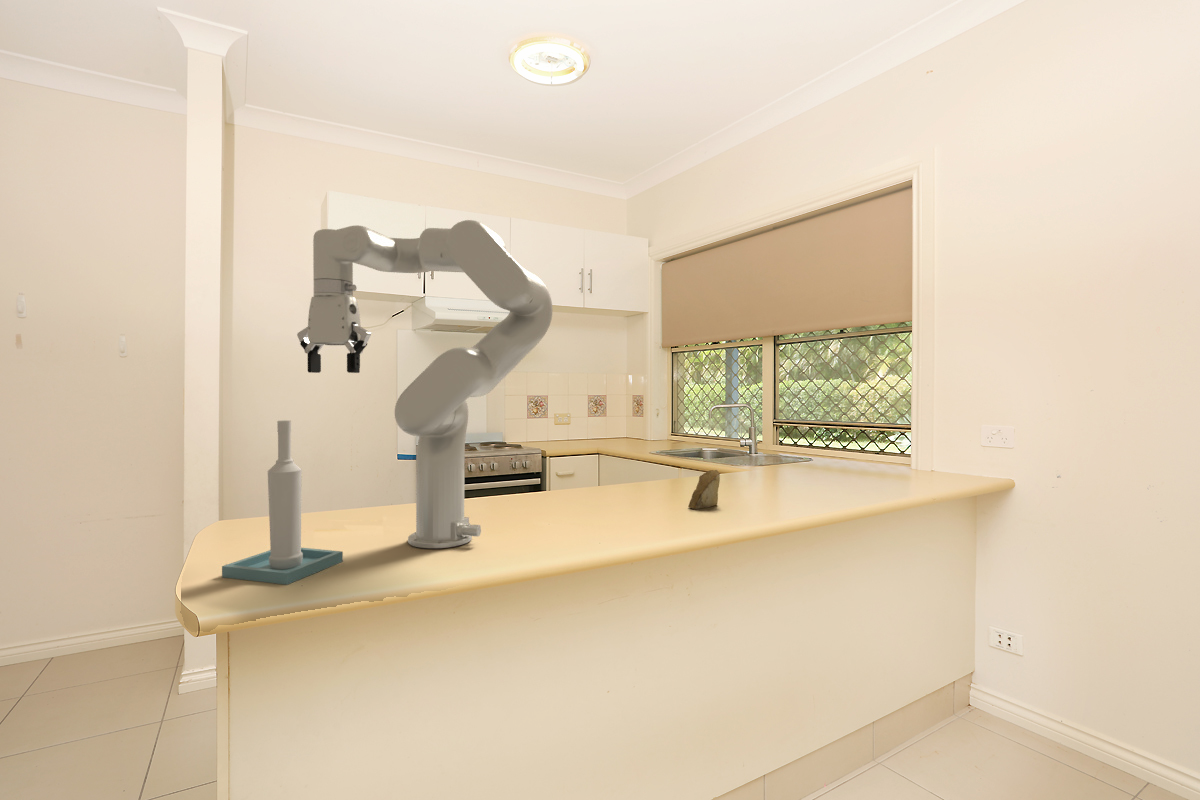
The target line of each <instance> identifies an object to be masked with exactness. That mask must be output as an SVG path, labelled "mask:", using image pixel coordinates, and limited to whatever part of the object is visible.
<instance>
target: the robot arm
mask: <svg viewBox="0 0 1200 800" xmlns="http://www.w3.org/2000/svg"><path fill="white" fill-rule="evenodd" d="M312 243H313V244H312V246H313V247H312V248H313V250H312V251H313V255H312V257H313V259H312V260H313V263H312V265H313V267H312V268H313V276H312V277H313V280H312V281H313V296H311V298H310V302H309V303H310V304H309V309H308V317H307V319H308V320H307V327H304V328H303V329H302V330H300V331H299V332H297V334H296V335H297V336H296V337H297V338H298V341H299V342H300V343H299V345H300V346H301V347H302V348H303V350H304V353H305V354H307V372H308V373H310V374H311V373H315V374H316V373H319V374H320V373H321V372H322V362H321V361H322V357H321V356H322V354H321V353H319V352H320V351H321V350H322V348H323V347H324V345H325V346H345V347H346V349H347V350H348V352H347V354H346V372H347V373H349V374H355V373H356V374H359V373H360V367H361V355H362V354H363V352H364V350H365V348H366V347H367V346H368V342H369V339H370V338H371V333H372V332H370V331H369V330H367V329H365V328H363V327H362V326H361V317H360V315H361V314H360V311H359V310H360V309H359V304H358V301H357V298H356V297H353V296H354V294H353V293H354V292H355V291H357V288H358V287H357V285H356V284H354V283H353V282H354V280H353V279H354V278H353V276H354V273H353V272H354V270H353V268H354V265H353V264H356V265H360V266H364V267H367V268H370V269H373V270H376V271H378V272H379V271H380V272H383V273H384V272H385V273H397V274H398V273H399V274H400V273H401V274H403V273H404V274H419V273H420V274H421V273H429V272H443V273H444V272H447V273H450V272H451V273H465V275H466V276H467V277H468V278H469V279H470V280H471V282H473V283H474V285H476V287H477V288H478V289H479V290H480V291H481V292H482V293H483V294H484V296H486V298H488V300H489V301H490V302H492V303H493V304H494V305H495V306H497V307H499V308H500V309H502V310H506V311H509V313H508V314H507V316H506V317H505V318H504V319H503V320H501V321H500V322H498V323H497V324H496V325H494V326H493V327H492V328H491V329H490V330H489V331H488V332H487V333H486V334H485V335H484V336H483V337H482V338H481V339H480V340H479V341H478V342H477V343H476V344H475V345H473V346H471V347H465V346H462V347H461V346H460V347H454V348H450V349H447V350H446V351H445V352H443V353H441V354H439V356H437V357H436V358H435V359H434V360H433V361H432V362H431V363H430V364H429V365H428V366H427V367H426V368H425V369H424V370H423V371H422V372H421V373H420V374H419V375H418V376H417V377H416V378H415V379H414V380H413V381H412V382H411V383H410V384H409V385H408V386H407V387H406V388H404V390H403V391H402V393H401V394H400V395H399V397H398V399H397V401H396V403H395V406H394V407H395V408H394V419H395V422H396V424H397V426H398V427H399V429H401V431H403V432H404V433H406V434H408V435H411V436H414V437H418V440H417V447H416V457H415V459H416V460H415V462H416V463H415V465H416V466H415V467H416V468H415V469H416V472H415V477H416V478H415V481H416V482H415V488H416V490H415V491H416V493H415V495H416V496H415V498H416V499H415V500H416V502H415V504H416V505H415V506H416V507H415V508H416V510H415V511H416V512H415V513H416V514H415V516H416V518H415V519H416V520H415V523H416V524H415V527H416V530H415V532H413V533H411V534H409V536H408V537H407V543H408V545H410V546H412V547H415V548H420V549H446V548H453V547H458V546H462V545H465V544H467V543H470V542H471V541H472V539H473V537H480V536H481V533H482V529H481V525H480V524H471V523H470V517H469V516H468V517H467V516H465V465H466V464H465V458H466V457H465V455H466V454H465V453H466V452H465V451H466V449H465V448H466V436H467V435H466V434H467V429H468V423H469V422H468V421H469V406H468V403H467V401H466V400H467V399H469V398H477V397H483V396H486V395H488V394H489V393H491V392H492V391H493V390H494V389H495V388H496V387H497V386H498V384H499V383H501V381H503V379H505V377H506V376H508V375H509V373H511V372H512V370H514V369H515V368H516V366H518V365H519V364H520V362H521V361H522V360H523V359H524V358H525V357H527V355H528V354H529V353H530V352H531V351H532V350H533V349H534V348H536V346H537V345H538V344H539V343H540V342H541V341H542V340H543V338H544V337H545V336H546V334H547V332H548V331H549V327H550V326H551V322H552V318H553V302H552V297H551V294H550V291H549V289H548V287H547V285H546V284H545V283H544V282H543V280H542V279H540V277H539V276H537V275H536V274H534V273H533V272H531V271H529V270H527V269H526V268H524V267H523V266H521V265H520V264H519V263H518V262H517V260H515V258H514V257H512V255H510V253H509V252H508V251H507V248H506V245H505V242H504V240H503V239H502V237H501V236H500V235H499V234H497V232H495V231H493V230H492V229H490V227H488V226H486V225H485V224H483V223H482V222H481V221H477V220H474V219H473V220H472V219H467V220H462V221H458V222H456V223H455V224H454V225H453V226H452V227H451V228H443V227H442V228H439V227H427V228H425V229H424V230H423V231H422V232H421V233H420V236H419V237H417V238H403V237H402V238H401V237H400V238H397V237H388V236H387V235H384V234H382V233H380V232H377V231H375V230H373V229H370V228H368V227H366V226H363V225H350V226H346V227H342V228H338V229H332V228H325V229H319V230H316V231H315V232H314V233H313V241H312Z"/></svg>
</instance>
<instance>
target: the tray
mask: <svg viewBox="0 0 1200 800" xmlns="http://www.w3.org/2000/svg"><path fill="white" fill-rule="evenodd" d="M301 552H302V553H303V559H302V563H301V565H299V566H297V567H294V568H289V569H272V568H271V567H270V564H269V556H270V555H271V549H269V550H266V551H264V552H261V553H257V554H255V555H252V556H248V557H246V558H243V559H240V560H236V561H233V562H231V563H227V564H224V565H221V577H222V578H227V579H234V580H246V581H253V582H260V583H261V582H262V583H270V584H278V585H284V586H285V585H286V586H287V585H290V584H293V583H295V582H297V581H300V580H301V579H304V578H306V577H309V576H311V575H314V574H316V573H319V572H320V571H323V570H325V569H327V568H330V567H333V566H336V565H338V564H339V563H342V562H343V561H344V559H343V557H344V555H343V554H344V552H343V551H341V550H331V549H321V548H320V549H319V548H310V547H301Z"/></svg>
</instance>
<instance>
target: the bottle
mask: <svg viewBox="0 0 1200 800" xmlns="http://www.w3.org/2000/svg"><path fill="white" fill-rule="evenodd" d="M276 422H277V428H276V429H277V460H275V464H274V465H273V466H272V467H270V468H269V469H268V470H267V487H268V489H267V491H268V493H267V494H268V514H269V516H268V517H269V518H268V519H269V542H270V544H269V545H270V550H271V555H270V556H269V564H270V567H271V568H272V569H289V568H294V567H297V566H299V565H301V563H302V559H303V553H302V552H301V548H302V486H303V485H302V484H303V483H302V480H303V479H302V478H303V476H302V474H303V472H302V471H303V470H302V468H301V467H299V465H297V464H296V463H295V462H294V459H293V458H292V435H291V434H292V420H287V419H286V420H285V419H284V420H283V419H282V420H277V421H276Z"/></svg>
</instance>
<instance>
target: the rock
mask: <svg viewBox="0 0 1200 800" xmlns="http://www.w3.org/2000/svg"><path fill="white" fill-rule="evenodd" d="M720 474H721V473H720V472H719V471H718V469H710V470H708V471H706V472H704V473H703V474H701V475H700V476H699V478H698V482H697V485H696V487H695V489H694V491H693V493H692V495H691V498H690V500H689V503H688V508H690V509H692V510H699V509H703V508H704V509H705V508H709V507H713V506H717V505H718V504H719V503H718V501H719V487H720V483H721V482H720V480H721V479H720V478H721V476H720Z"/></svg>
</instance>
